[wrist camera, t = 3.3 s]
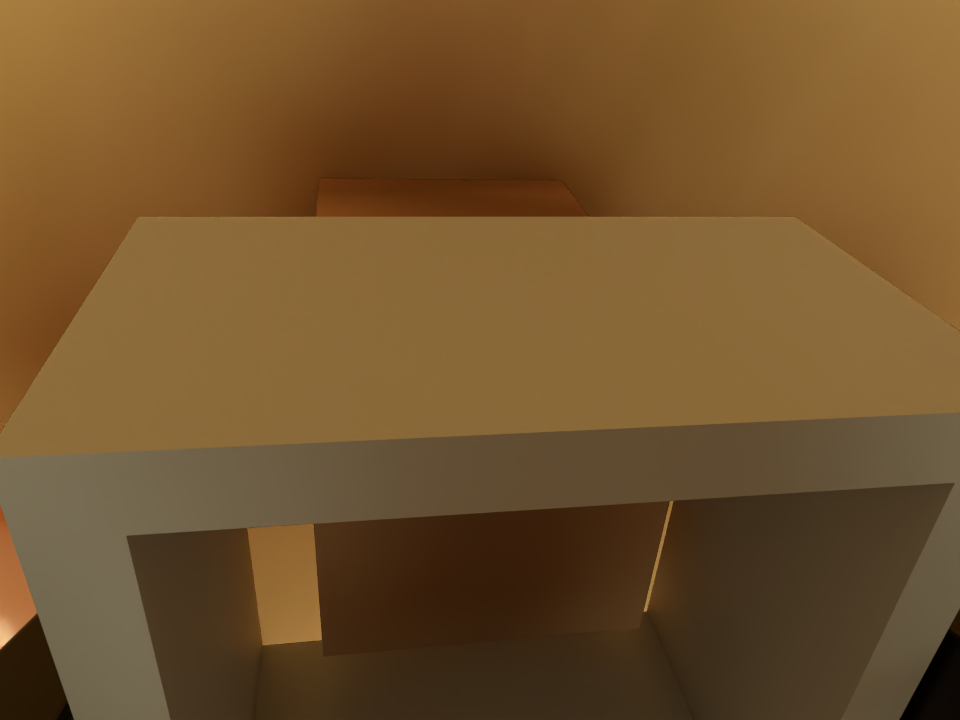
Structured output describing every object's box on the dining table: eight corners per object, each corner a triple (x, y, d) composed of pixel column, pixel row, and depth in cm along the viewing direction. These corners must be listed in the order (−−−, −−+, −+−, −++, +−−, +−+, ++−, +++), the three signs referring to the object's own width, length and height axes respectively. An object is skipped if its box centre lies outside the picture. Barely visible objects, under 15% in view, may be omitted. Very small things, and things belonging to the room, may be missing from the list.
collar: (795, 216, 8) (1069, 408, 5) (678, 636, 11) (799, 902, 8) (137, 216, 7) (-16, 459, 4) (221, 679, 10) (172, 1001, 7)
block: (561, 180, 13) (702, 362, 8) (538, 379, 15) (639, 628, 10) (319, 178, 12) (303, 374, 7) (329, 387, 14) (323, 656, 9)
